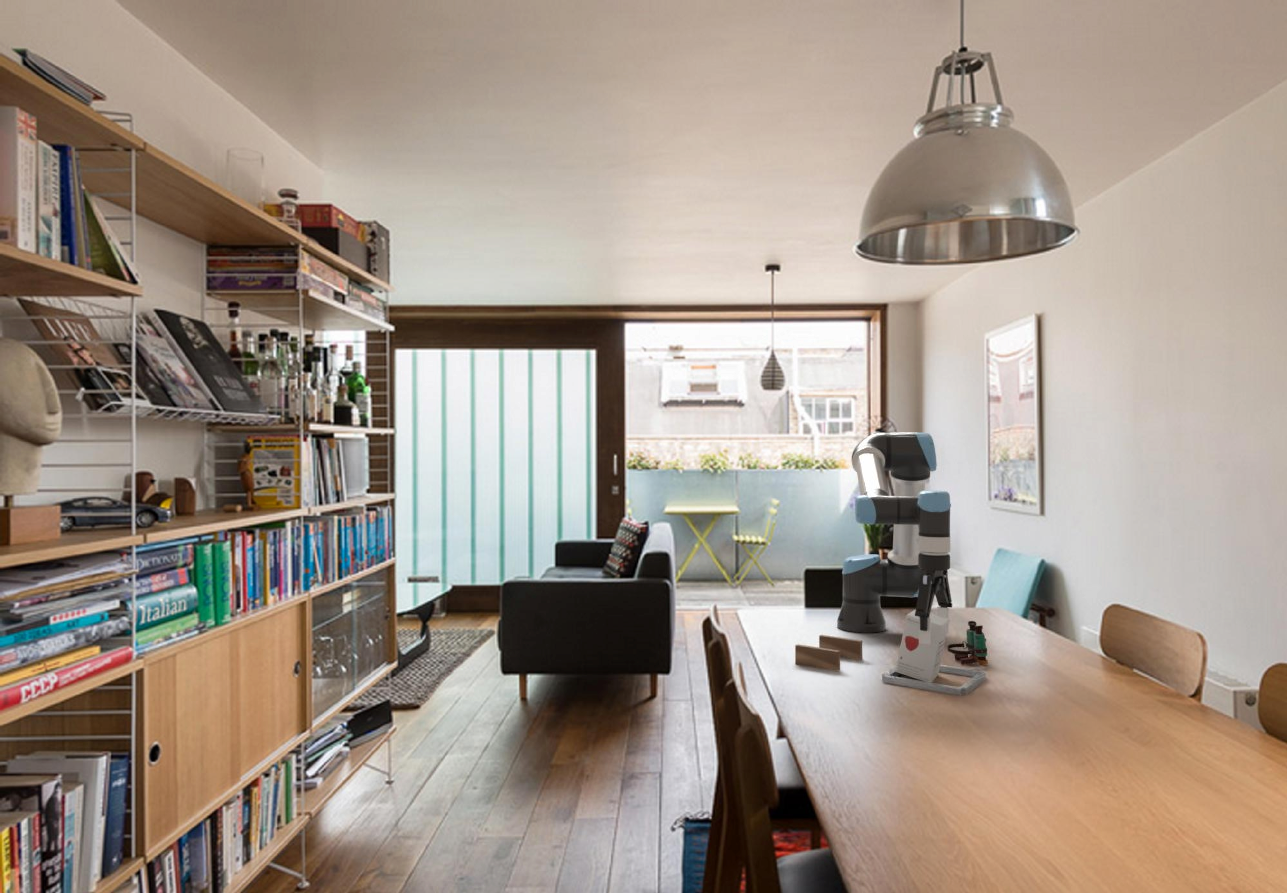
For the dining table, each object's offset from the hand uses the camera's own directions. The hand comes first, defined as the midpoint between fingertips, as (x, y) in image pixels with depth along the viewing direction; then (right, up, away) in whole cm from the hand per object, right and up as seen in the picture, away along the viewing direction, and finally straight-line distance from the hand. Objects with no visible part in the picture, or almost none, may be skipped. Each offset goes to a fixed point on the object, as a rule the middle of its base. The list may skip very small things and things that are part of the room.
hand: (934, 638), depth 206 cm
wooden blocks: (-22, -10, +18) cm, 30 cm away
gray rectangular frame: (0, -10, 0) cm, 10 cm away
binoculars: (+15, -11, +17) cm, 25 cm away
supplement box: (-4, -10, +2) cm, 10 cm away
